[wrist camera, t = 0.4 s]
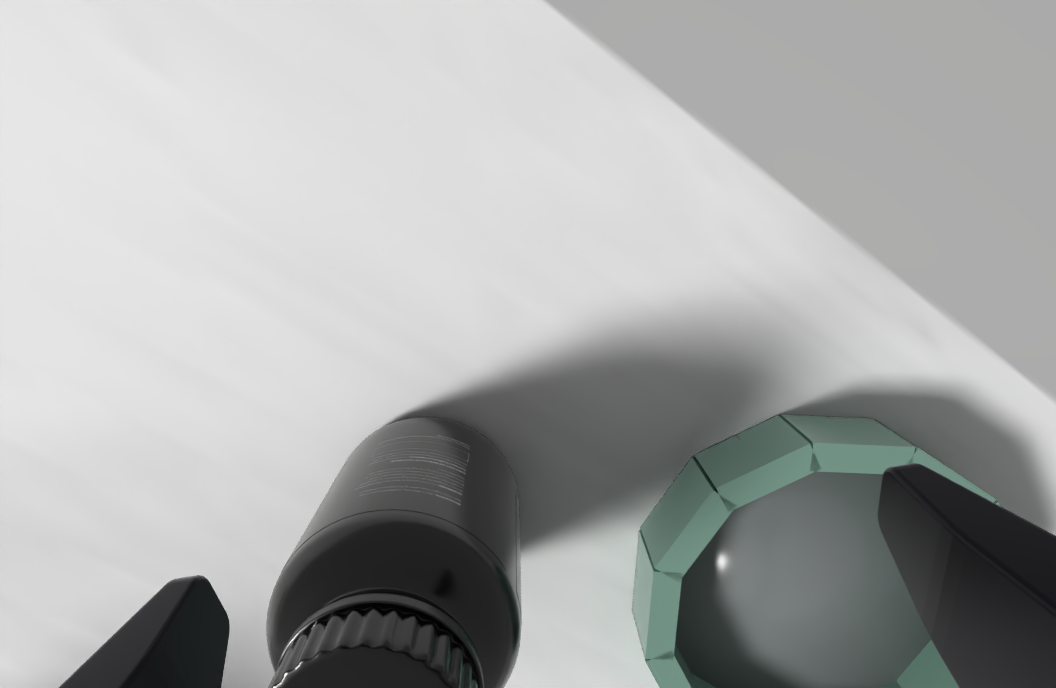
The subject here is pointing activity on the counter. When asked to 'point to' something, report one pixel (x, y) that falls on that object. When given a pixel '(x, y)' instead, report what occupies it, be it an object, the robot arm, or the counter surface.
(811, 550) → the cup
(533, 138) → the counter surface
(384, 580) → the supplement bottle
